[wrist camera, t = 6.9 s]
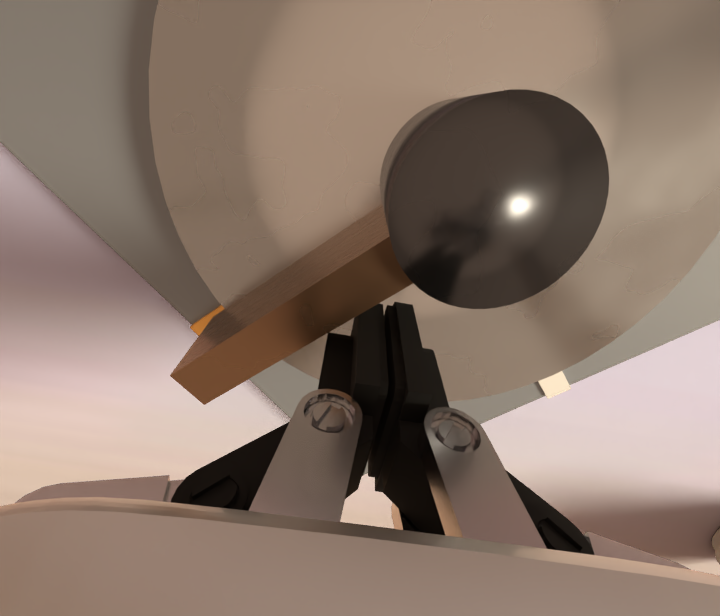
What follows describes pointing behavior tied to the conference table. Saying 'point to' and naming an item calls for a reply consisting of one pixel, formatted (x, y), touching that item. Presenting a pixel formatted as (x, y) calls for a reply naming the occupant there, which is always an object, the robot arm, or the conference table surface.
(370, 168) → the dial
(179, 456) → the conference table surface
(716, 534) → the coffee cup
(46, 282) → the conference table surface
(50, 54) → the dial plate
